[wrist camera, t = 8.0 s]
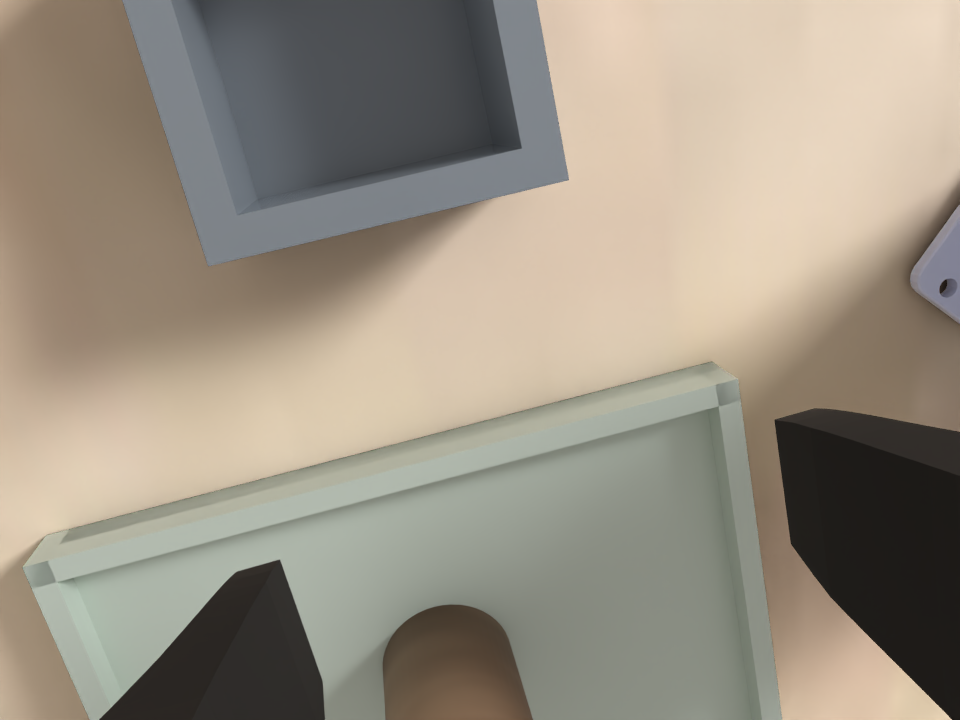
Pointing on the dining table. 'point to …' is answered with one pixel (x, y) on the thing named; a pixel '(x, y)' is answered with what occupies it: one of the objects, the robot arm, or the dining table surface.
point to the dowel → (452, 668)
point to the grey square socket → (345, 111)
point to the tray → (470, 559)
